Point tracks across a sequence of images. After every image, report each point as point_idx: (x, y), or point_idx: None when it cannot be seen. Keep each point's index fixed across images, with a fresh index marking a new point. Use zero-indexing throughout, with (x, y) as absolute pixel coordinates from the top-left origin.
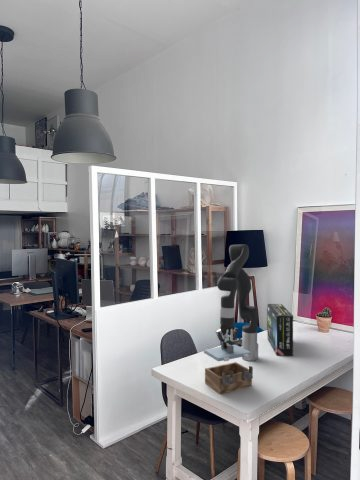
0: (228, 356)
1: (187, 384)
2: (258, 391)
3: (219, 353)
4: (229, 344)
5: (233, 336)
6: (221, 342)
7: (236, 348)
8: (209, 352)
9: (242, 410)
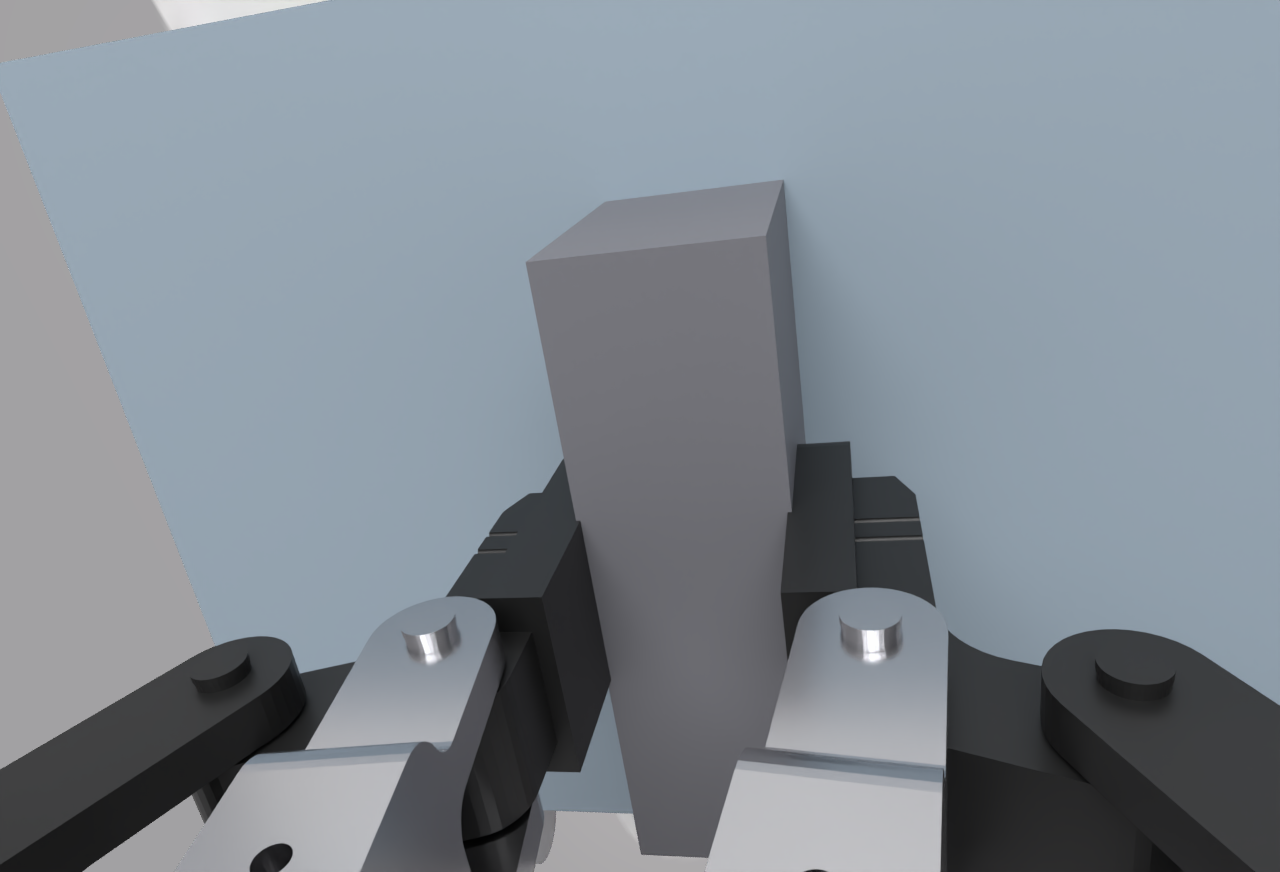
0: (558, 807)
1: (194, 13)
2: None
3: (399, 556)
4: (771, 661)
5: (1261, 780)
6: (540, 273)
7: (1242, 350)
8: (133, 374)
9: (632, 816)
